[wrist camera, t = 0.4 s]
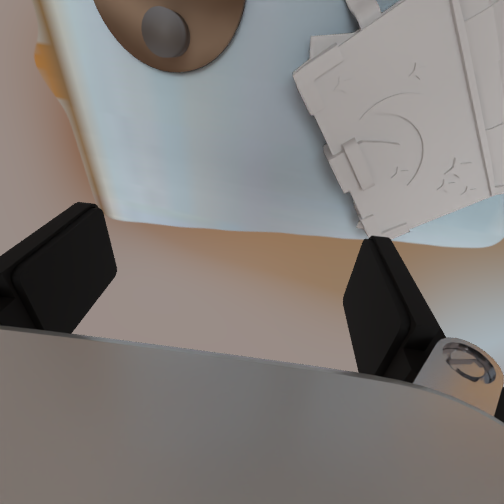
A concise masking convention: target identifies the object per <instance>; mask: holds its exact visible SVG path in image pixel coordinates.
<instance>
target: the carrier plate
mask: <svg viewBox="0 0 504 504" xmlns="http://www.w3.org/2000/svg"><path fill="white" fill-rule="evenodd" d="M94 2H95V5H96V7H97V9H98V11H99V13H100V15H101V17H102V19H103V21H104V22H105V24H106V26H107V27H108V29H109V30H110V32H111V33H112V34H113V36H114V37H115V38H116V39H117V41H118V42H119V43H120V44H121V45H122V46H123V47H124V48H125V49H126V50H127V51H128V52H129V53H130V54H132V55H133V56H134V57H135V58H137V59H138V60H140V61H141V62H143V63H145V64H147V65H149V66H151V67H153V68H156V69H159V70H163V71H168V72H185V71H192V70H195V69H198V68H201V67H203V66H205V65H207V64H209V63H210V62H212V61H213V60H214V59H216V58H217V57H218V56H219V55H220V54H221V53H222V52H223V51H224V49H225V48H226V47H227V46H228V44H229V43H230V41H231V40H232V38H233V36H234V35H235V32H236V30H237V28H238V26H239V23H240V20H241V17H242V14H243V10H244V5H245V0H94Z"/></svg>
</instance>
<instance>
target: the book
mask: <svg viewBox="0 0 504 504" xmlns="http://www.w3.org/2000/svg"><path fill="white" fill-rule="evenodd" d="M345 1H346V3H347V6H348V8H349V10H350V11H351V13H352V14H353V15H354V16H355V18H356V19H357V21H358V23H359V26H360V28H359V29H358V30H356V31H355V32H353V33H346V34H333V35H320V36H311V41H310V59H309V60H307V61H306V62H305V63H304V64H302V65H301V66H300V67H299V68H297V69H296V70H295V71H293V78H294V80H295V83H296V86H297V89H298V91H299V93H300V95H301V97H302V99H303V101H304V104H305V106H306V108H307V110H308V112H309V114H310V115H314V116H315V119H316V121H317V123H318V125H319V127H320V129H321V131H322V133H323V135H324V138H325V140H326V142H327V144H325V145H324V146H323V149H324V153H325V156H326V158H327V160H328V162H329V164H330V166H331V168H332V170H333V172H334V174H335V176H336V178H337V181H338V183H339V185H340V187H341V188H342V190H343V192H344V194H345V193H347V192H349V191H350V193H351V195H352V197H353V199H354V208H355V210H356V212H357V214H358V217H359V219H360V220H359V222H358V224H357V227H356V228H360V229H364V230H365V232H366V234H367V236H368V237H369V238H370V236H381V237H389V238H390V239H394V238H396V237H398V236H401V235H403V234H405V233H407V232H410V231H409V229H411V228H414V227H416V226H419V225H421V224H424V223H426V222H429V221H431V220H434V219H436V218H439V217H441V216H444V215H446V214H449V213H451V212H454V211H456V210H459V209H461V208H464V207H466V206H469V205H471V204H474V203H476V202H479V201H482V200H484V199H487V198H489V197H492V196H494V195H498V194H504V0H399V1H398V2H397V3H395V4H394V5H392V6H391V7H389V8H388V9H387V10H385V11H384V12H382V13H381V10H380V7H379V5H378V3H377V1H376V0H345Z"/></svg>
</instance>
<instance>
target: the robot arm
mask: <svg viewBox="0 0 504 504" xmlns="http://www.w3.org/2000/svg"><path fill="white" fill-rule="evenodd" d="M116 272H117V267H116V263H115V258H114V255H113V250H112V247H111V242H110V238H109V234H108V230H107V226H106V222H105V218H104V214H103V211H102V210H101V209H100V208H98V206H97V205H96V204H91V203H82V202H77V203H75V204H74V205H72V206H71V207H69V208H68V209H67V210H65V211H64V212H62V213H61V214H59V215H58V216H57V217H55V218H54V219H52V220H51V221H49V222H48V223H47V224H46V225H44V226H42V227H41V228H40V229H38V230H37V231H35V232H34V233H32V234H31V235H30V236H28V237H27V238H25V239H24V240H23V241H21V242H20V243H18V244H17V245H15V246H14V247H13V248H11V249H10V250H8V251H7V252H6V253H4V254H3V255H2V256H0V504H504V387H503V384H504V375H503V373H502V371H501V368H500V367H499V365H498V364H497V363H496V362H495V361H494V359H493V358H492V357H491V356H489V355H488V354H487V353H486V352H485V351H483V350H482V349H480V348H479V347H477V346H476V345H474V344H472V343H470V342H467V341H465V340H462V339H458V338H446V336H445V335H444V333H443V331H442V329H441V328H440V326H439V324H438V322H437V321H436V319H435V317H434V315H433V313H432V312H431V310H430V308H429V306H428V305H427V303H426V301H425V299H424V298H423V296H422V294H421V292H420V290H419V289H418V287H417V285H416V283H415V282H414V280H413V278H412V276H411V275H410V273H409V271H408V269H407V267H406V266H405V264H404V262H403V260H402V259H401V257H400V255H399V253H398V252H397V250H396V248H395V246H394V244H393V243H392V241H391V239H390V238H389V237H381V236H370V238H369V239H364V241H363V243H362V246H361V248H360V251H359V254H358V257H357V260H356V262H355V265H354V268H353V271H352V274H351V277H350V280H349V282H348V285H347V288H346V291H345V294H344V297H343V306H344V310H345V314H346V319H347V324H348V328H349V332H350V337H351V341H352V345H353V350H354V354H355V359H356V363H357V367H358V372H359V373H357V372H350V371H343V370H337V369H331V368H324V367H318V366H311V365H304V364H296V363H289V362H282V361H275V360H267V359H260V358H253V357H245V356H238V355H230V354H223V353H215V352H208V351H201V350H193V349H186V348H178V347H170V346H162V345H155V344H147V343H139V342H132V341H124V340H117V339H109V338H101V337H92V336H85V335H77V334H71V333H72V332H73V330H74V329H75V328H76V327H77V325H78V324H79V323H80V322H81V320H82V319H83V318H84V316H85V315H86V314H87V312H88V311H89V310H90V309H91V307H92V306H93V304H94V303H95V302H96V300H97V299H98V298H99V297H100V296H101V294H102V293H103V291H104V290H105V289H106V288H107V286H108V285H109V284H110V283H111V281H112V280H113V279H114V277H115V275H116Z"/></svg>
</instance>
